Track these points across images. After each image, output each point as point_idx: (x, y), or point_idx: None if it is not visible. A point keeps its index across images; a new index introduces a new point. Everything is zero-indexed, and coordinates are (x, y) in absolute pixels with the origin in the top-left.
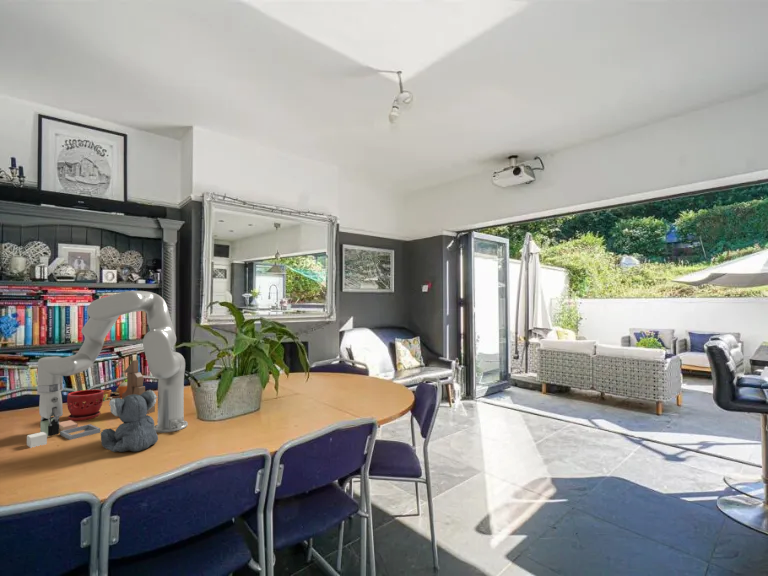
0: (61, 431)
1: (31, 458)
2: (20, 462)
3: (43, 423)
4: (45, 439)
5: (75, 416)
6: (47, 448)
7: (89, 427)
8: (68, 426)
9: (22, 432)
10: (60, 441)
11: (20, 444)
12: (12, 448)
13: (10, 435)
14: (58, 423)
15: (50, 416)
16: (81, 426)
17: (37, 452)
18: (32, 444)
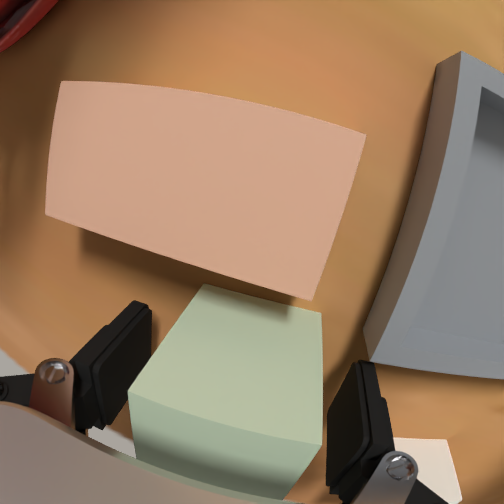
0: (395, 359)
1: (484, 484)
2: (471, 500)
3: None
4: (450, 476)
5: (3, 16)
6: (475, 445)
7: (491, 100)
8: (330, 247)
9: (8, 316)
10: (471, 382)
11: None
12: None
13: (24, 361)
14: (410, 464)
15: (71, 419)
16: (462, 158)
17: (464, 471)
18: None
